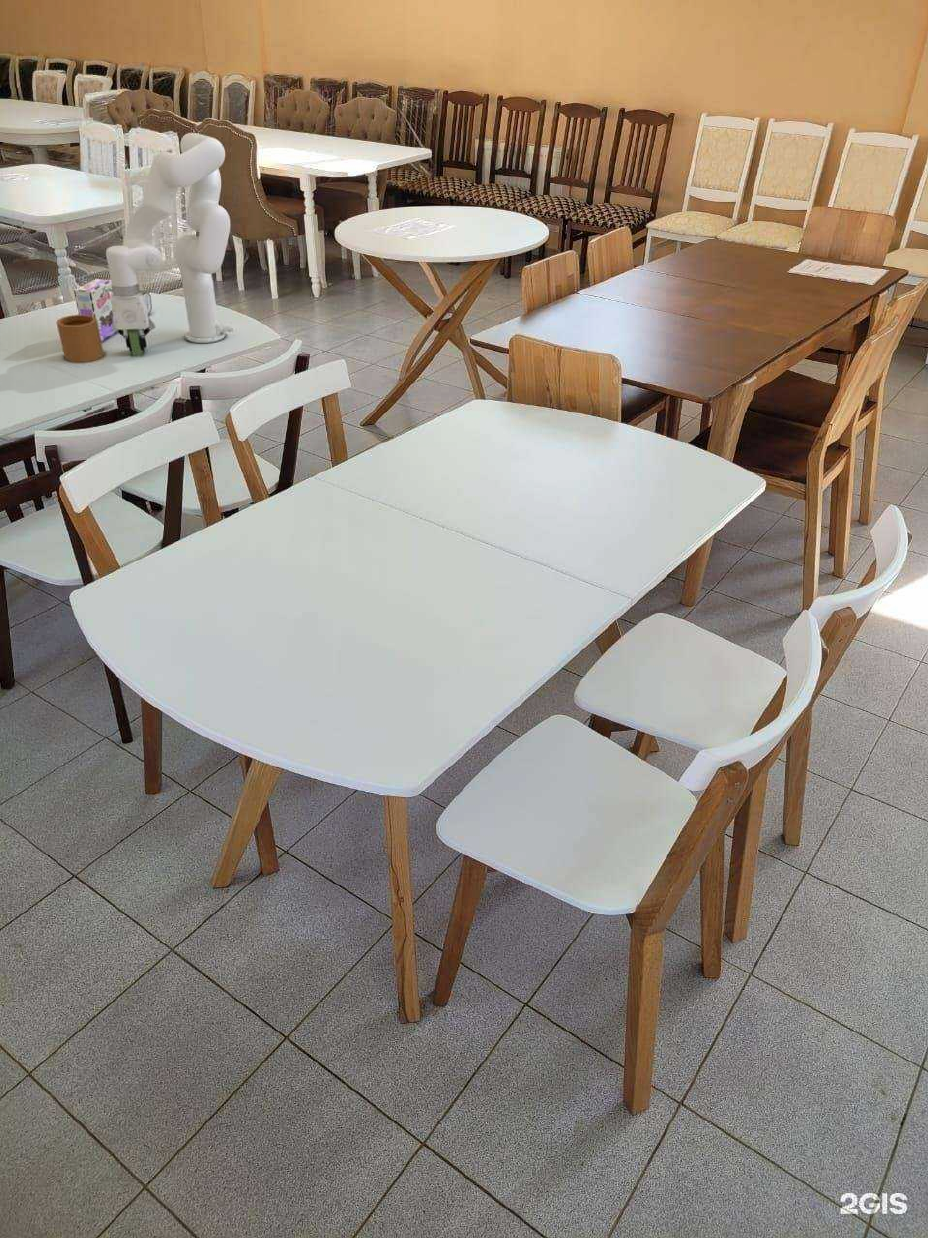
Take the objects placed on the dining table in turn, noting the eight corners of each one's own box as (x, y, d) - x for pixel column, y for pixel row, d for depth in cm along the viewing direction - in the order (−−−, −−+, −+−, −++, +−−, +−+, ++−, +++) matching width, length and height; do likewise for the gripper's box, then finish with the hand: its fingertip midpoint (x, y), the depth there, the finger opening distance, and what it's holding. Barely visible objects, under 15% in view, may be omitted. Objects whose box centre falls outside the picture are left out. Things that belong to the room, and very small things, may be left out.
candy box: (100, 343, 294) (89, 290, 284) (83, 341, 295) (72, 289, 285) (122, 329, 305) (112, 279, 295) (106, 328, 306) (95, 277, 296)
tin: (147, 311, 321) (142, 286, 316) (155, 312, 321) (151, 287, 316) (125, 324, 309) (120, 299, 304) (134, 325, 309) (129, 300, 304)
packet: (143, 349, 290) (138, 324, 285) (141, 355, 285) (136, 330, 281) (134, 349, 289) (130, 324, 285) (132, 355, 285) (127, 330, 280)
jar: (106, 348, 290) (98, 314, 283) (100, 361, 280) (93, 325, 274) (68, 350, 288) (60, 315, 281) (62, 362, 279) (53, 327, 272)
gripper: (96, 294, 272) (108, 354, 282) (152, 292, 274) (163, 352, 285) (99, 287, 278) (112, 346, 288) (155, 285, 280) (165, 344, 291)
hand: (137, 348), depth 287 cm, fingers open, 3 cm apart
